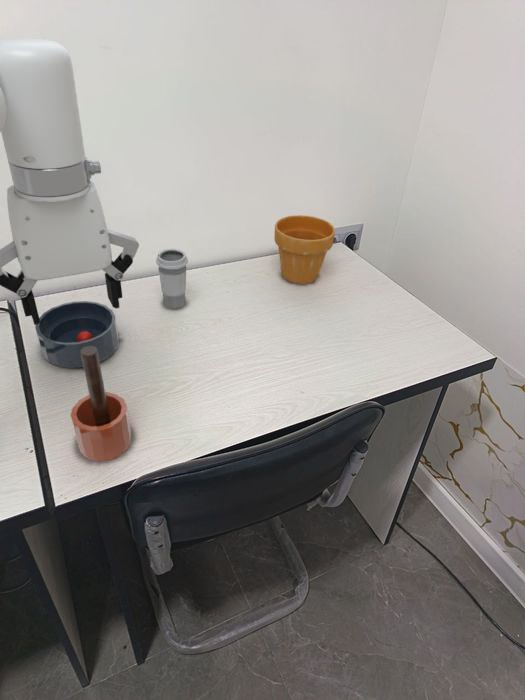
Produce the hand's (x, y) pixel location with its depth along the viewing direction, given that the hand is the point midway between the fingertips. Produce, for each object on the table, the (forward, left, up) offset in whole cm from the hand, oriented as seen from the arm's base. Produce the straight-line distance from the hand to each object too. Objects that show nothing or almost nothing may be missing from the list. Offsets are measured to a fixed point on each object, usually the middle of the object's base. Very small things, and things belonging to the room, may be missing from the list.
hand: (75, 310), depth 63 cm
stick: (+1, 0, -24) cm, 24 cm away
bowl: (+2, +26, -25) cm, 36 cm away
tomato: (+2, +26, -22) cm, 34 cm away
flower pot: (+57, +34, -25) cm, 71 cm away
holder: (0, 0, -25) cm, 25 cm away
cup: (+24, +34, -25) cm, 49 cm away
